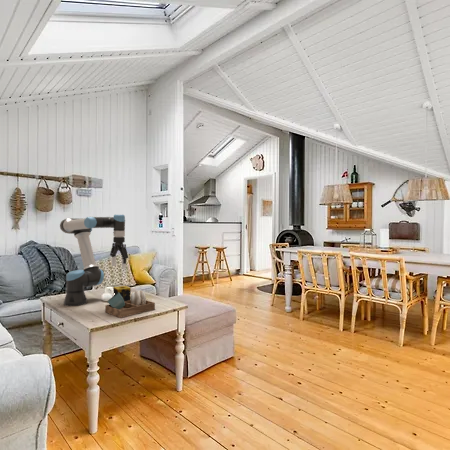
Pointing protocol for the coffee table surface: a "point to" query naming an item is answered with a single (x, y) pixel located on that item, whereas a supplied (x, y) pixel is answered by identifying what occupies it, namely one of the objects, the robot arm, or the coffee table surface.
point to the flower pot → (116, 301)
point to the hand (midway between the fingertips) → (118, 267)
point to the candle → (123, 292)
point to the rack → (132, 306)
